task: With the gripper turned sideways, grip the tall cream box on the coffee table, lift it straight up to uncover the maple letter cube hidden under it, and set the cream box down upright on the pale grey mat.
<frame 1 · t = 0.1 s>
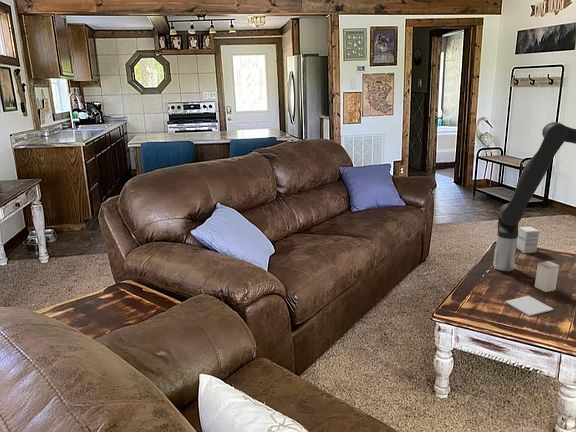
grey mat: (528, 306, 198), on the table
cream box: (544, 288, 213), on the table
supplement box: (526, 250, 257), on the table
maple letter cube: (545, 284, 213), in the cream box
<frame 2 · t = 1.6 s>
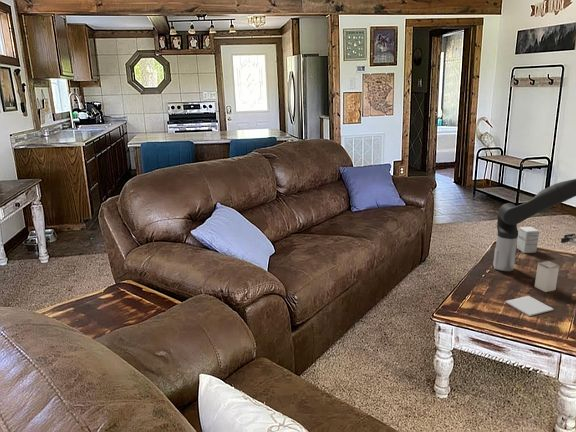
hand: (569, 243, 211), 20 cm above the table, tool horizontal, fingers open, 8 cm apart
nothing on the table moved.
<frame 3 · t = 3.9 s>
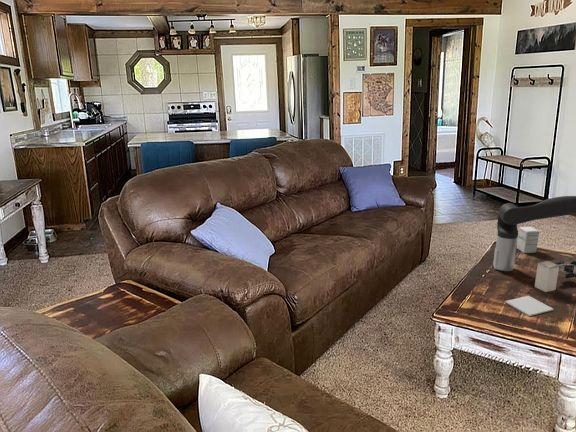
hand: (558, 272, 213), 7 cm above the table, tool horizontal, fingers open, 8 cm apart
nothing on the table moved.
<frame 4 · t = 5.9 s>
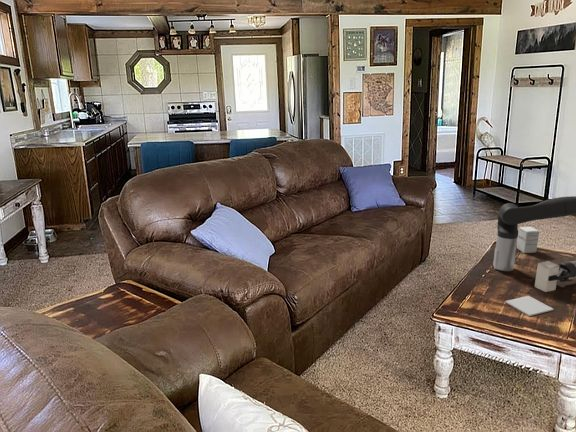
hand: (542, 276, 210), 7 cm above the table, tool horizontal, fingers closed on cream box, 6 cm apart
cream box: (544, 288, 213), on the table, touching gripper
everything else where it was.
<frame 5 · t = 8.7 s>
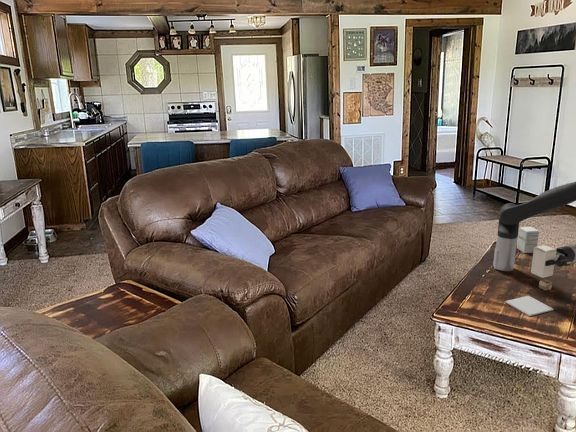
hand: (539, 260, 199), 18 cm above the table, tool horizontal, fingers closed on cream box, 6 cm apart
cream box: (541, 273, 202), point 11 cm above the table, touching gripper
everything else where it was.
when the fingers open (9 cm above the table, at t = 11.7 s): cream box drops 1 cm, resting on grey mat.
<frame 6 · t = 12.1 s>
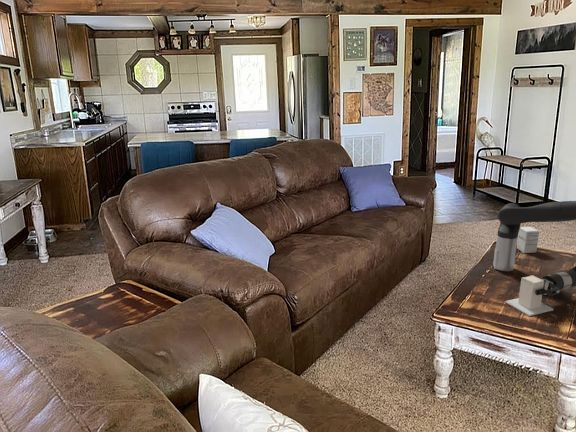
hand: (527, 288, 195), 9 cm above the table, tool horizontal, fingers open, 8 cm apart
cream box: (529, 304, 198), point 1 cm above the table, touching grey mat
everything else where it was.
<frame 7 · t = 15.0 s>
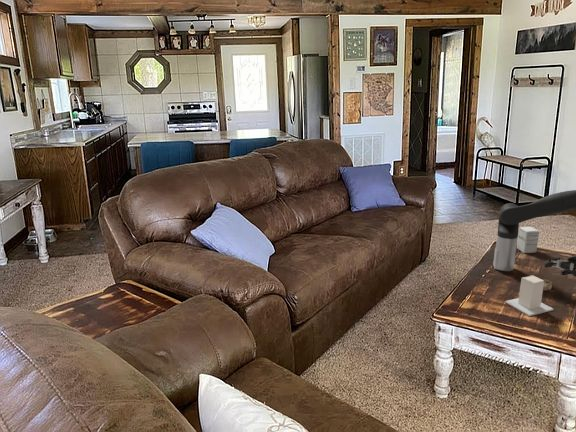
hand: (553, 269, 202), 13 cm above the table, tool horizontal, fingers open, 8 cm apart
nothing on the table moved.
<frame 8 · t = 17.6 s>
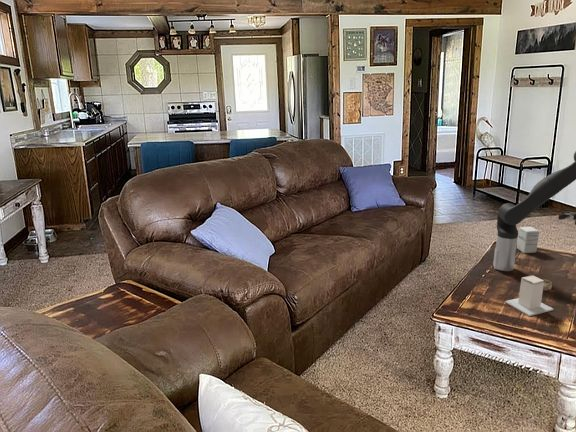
hand: (567, 220, 212), 30 cm above the table, tool horizontal, fingers open, 8 cm apart
nothing on the table moved.
at the end: cream box inside the target area on the grey mat (0.1 cm from its centre), point 0.6 cm above the grey mat's base; cream box tilted 0°; the gripper is holding nothing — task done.
